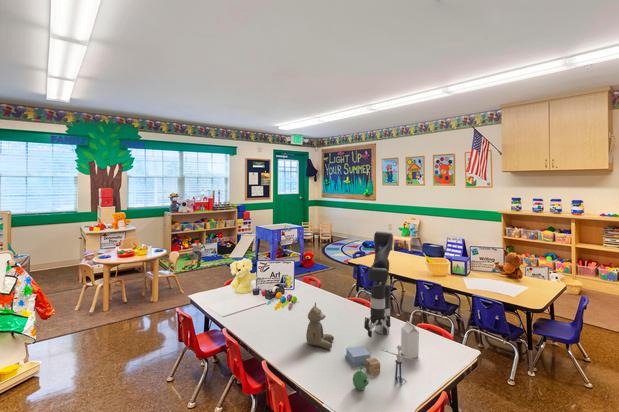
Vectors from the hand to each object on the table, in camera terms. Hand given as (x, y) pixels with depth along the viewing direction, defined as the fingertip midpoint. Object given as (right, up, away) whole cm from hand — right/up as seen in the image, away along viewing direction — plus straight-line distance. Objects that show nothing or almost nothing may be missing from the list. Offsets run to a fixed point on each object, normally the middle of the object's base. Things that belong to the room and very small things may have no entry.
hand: (377, 335), depth 166 cm
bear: (-29, -18, +30) cm, 45 cm away
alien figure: (+9, -20, -8) cm, 23 cm away
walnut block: (-2, -19, +1) cm, 19 cm away
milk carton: (+23, -18, +17) cm, 34 cm away
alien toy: (-11, -20, -14) cm, 27 cm away
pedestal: (-8, -18, +12) cm, 24 cm away
